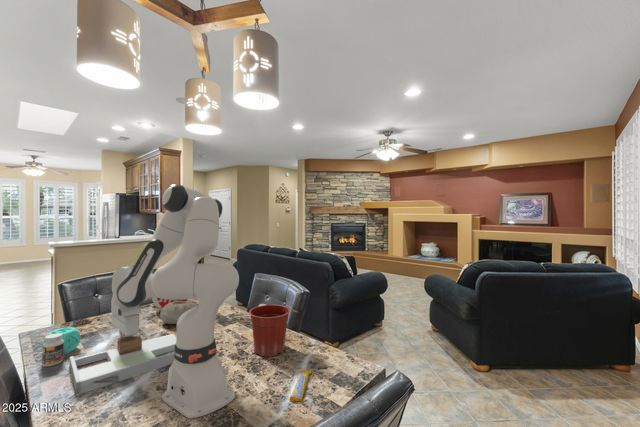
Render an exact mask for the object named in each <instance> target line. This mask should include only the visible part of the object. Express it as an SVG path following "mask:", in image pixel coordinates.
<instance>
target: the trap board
mask: <svg viewBox="0 0 640 427" xmlns="http://www.w3.org/2000/svg"><path fill="white" fill-rule="evenodd" d="M175 344H176V335H175V334H174V333H171V334H167V335H163V336H158V337H155V338H151V339H147V340H142V350H139V351H135V352H131V353H127V354H123V355H119V352H118V349H117V347H116V348H115V347H114V348H112V349H107V350H105V351H101V352H97V353H93V354H89V355H86V356H80V357H78V358H75V356H74V355H73V356H70V357H69V371H70V375H71V379H72V383H73V388H74V392H75V396H79V395H82V394H84V393H88V392H90V391H94V390H98V389H100V388H103V387H106V386H108V385H112V384H115V383H118V382H122V381H125V380H127V379H131V378H134V377H137V376H139V375H143V374H145V373H146V374H147V373H149V372H151V371H155V370H158V369H161V368H163V367H164V368H165V367H167V366H171V365H172V364H173V362H174V360H175V358H174V348H175ZM105 359H107V361H106V362H103V363H99V364H95V365H91V366H88V367H85V368H82V369H78V367H80V366H84V365H88V364H91V363H95V362H98V361H99V362H100V361H102V360H105Z"/></svg>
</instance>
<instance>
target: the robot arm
mask: <svg viewBox="0 0 640 427" xmlns="http://www.w3.org/2000/svg"><path fill="white" fill-rule="evenodd" d="M161 204H162V206H163V208H164V209H165V210H166V211H165V212H164V214H163V215H162V216H161V219H160V221H159V223H158V226H157V227H156V229H155V231H154V233H153V234H152V237H151V238H150V239H149V241H148V243H147V244H146V245H145V247H144V249H143V250H142V252H141V253H140V255H139V257H138V259H137V260H136V262H135V264H133V265H131V264H130V265H126V266H121V267H118V268H116V269H115V270H114V272H113V274H112V281H111V291H112V297H111V300H110V301H111V304H110V305H111V306H110V312H111V324H112V325H113V326H114V327H115V328H116V329H117V330H118V331H119V332H118V333H119V338H121V337H126V336H132V335H136V334H139V328H140V314H141V312H142V308H141V306H140V304H142V303H143V302H145V301H147V300H149V299H152V297H153V296H156V297H157V298H163V299H170V300H180V299H188V300H198V304H196V305H197V306H195V307H194V308H192V309H190V310H188V311H186V312H184V313H183V314H182V315H181V316H180V317H179V319H178V321H177V324H176V332H175V333H176V335H175V336H176V344H175V348H174V351H173V352H174V358H175V360H174V362H173V364H170V365H169V366H170V367H169V369H168V373H167V374H168V375H167V386H166V387H167V388H166V391H164V392H163V393H162V395H161V400H162V402H164V403H166V404H167V405H169V406H170V407H171V408H173V409H174V410H176V411H177V412H179V413H180V414H181V415H182V416H184V417H186V418H187V419H195V418H200V417H203V416H206V415H208V414H211V413H213V412H216V411H218V410H219V409H222V408H223V407H225V406H227V405H228V404H230V403H231V402H232V401H233V400H234V399H235V398H236V393H235V391H234V389H233V388H232V386H231V384H230V382H229V381H228V379H227V375H228V374H229V368H228V366H224V367H223V364H222V362H223V360H222V358H219V356H218V353H217V352H218V350H217V343H216V339H215V326H216V319H217V314H218V312H219V310H220V307H221V306H222V304H223V303H224V302H225V301H226V300H227V299H228V298H229V297H230V296H232V295H233V294H234V293H235V292H236V290H237V288H238V286H239V282H240V275H239V272H238V270H237V269H236V267H235V266H234V265H232V264H226V263H219V262H216V263H215V262H211V263H210V262H209V263H206V262H205V263H199V261H201V259H202V258H204V257H206V256H208V255H210V254H212V253H213V252H214V251H216V249H217V248H218V245H219V235H220V234H219V232H220V218H221V216H222V214H223V204H222V202H221V201H220V200H218V199H217V198H215V197H212V196H210V195H208V194H206V193H203V192H202V191H200V190H197V189H194V188H190V187H187V186H184V185H181V184H177V183H175V184H174V183H173V184H171V185H169V186H168V187H167V188H166V189H165V190H164V192H163V194H162V199H161ZM178 248H179V249H178ZM177 249H178V250H177ZM174 250H177V252H176V253H175V255H174V256H173V257H172V258H171V259H170V260H169V261H167V262H166V263H164V264H162V266H159V267H158V268H157V269H156V270H155V267H156V266H157V264H158V262H159V261H160V260H161V259H162V258H164V257H165V256H166V255H169V253H171V252H173V251H174ZM154 270H155V272H154V273H153V271H154Z"/></svg>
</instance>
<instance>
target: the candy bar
mask: <svg viewBox="0 0 640 427" xmlns="http://www.w3.org/2000/svg"><path fill="white" fill-rule="evenodd" d="M311 374H312V370H309V369H299V372H298V376H297V379H296V383H295V386H294V388H293V390H292V391H293V392H292V394H291V395H290V397H289V402H292V403H295V402H294V401H302V402H303V397H304V395H303V394H305V391H306V388H307V385H308V382H307V381H308V380H309V378H310V375H311ZM306 384H307V385H306Z"/></svg>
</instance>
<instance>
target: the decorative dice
mask: <svg viewBox="0 0 640 427" xmlns="http://www.w3.org/2000/svg"><path fill="white" fill-rule="evenodd" d="M56 333H62V340H63V341H64V354H63V355H66V354H70V353H71V352H73V351H74V350H75V349H76V348H77V347H78V345H79V344H80V341H81V333H80V331H79V330H78V329H77V328H75V327H71V326H70V327H68V326H67V327H60V328H57V329H53V330H51V331H50V332H49V333H48V334H47V335H46V336H48V335H51V334H56ZM44 343H46V342H45V338H44V340H43V343H42V345H43V344H44Z"/></svg>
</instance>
